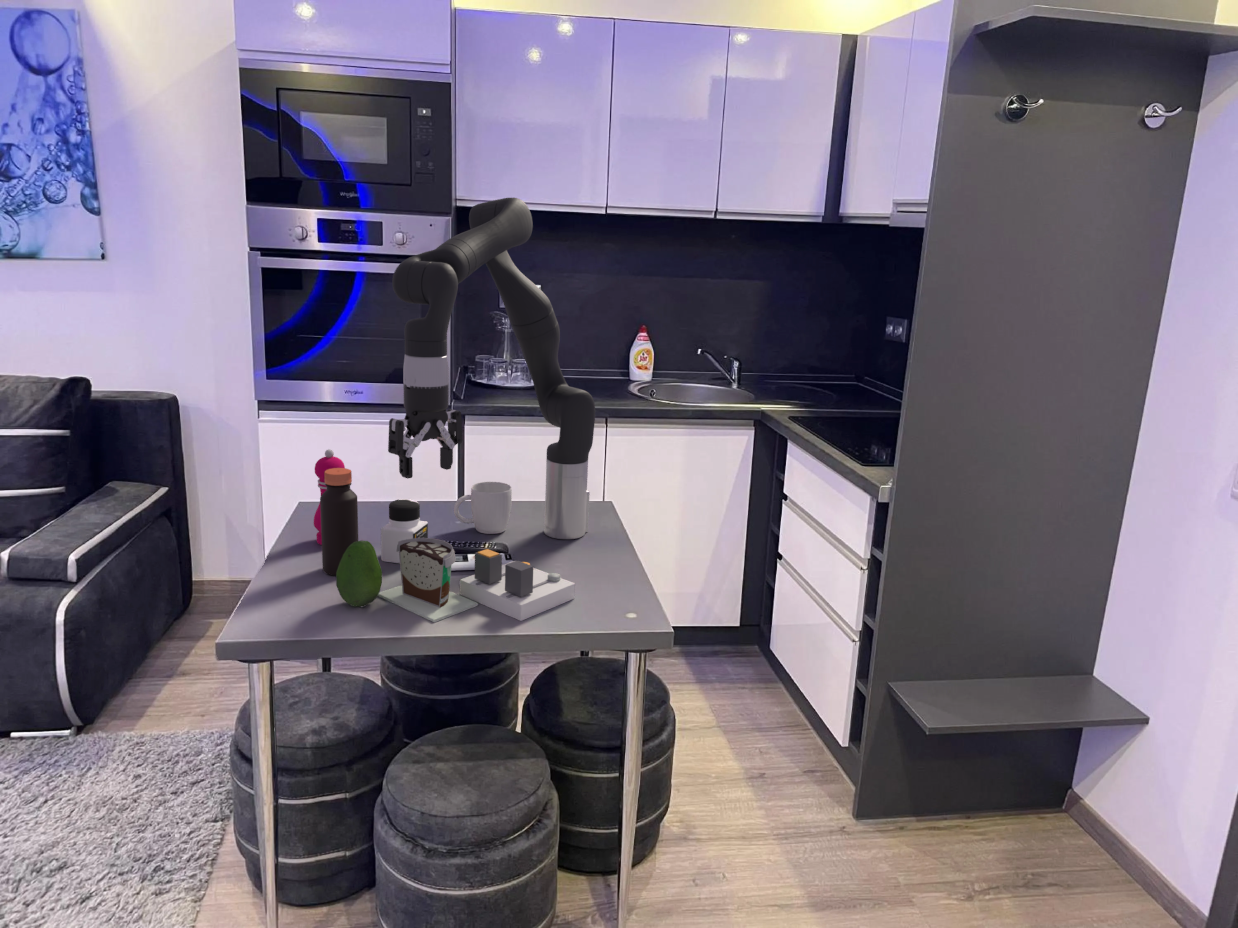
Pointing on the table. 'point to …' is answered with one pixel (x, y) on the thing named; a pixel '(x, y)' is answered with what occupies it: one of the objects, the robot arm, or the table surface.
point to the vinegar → (337, 517)
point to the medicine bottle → (401, 527)
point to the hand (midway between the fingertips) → (426, 472)
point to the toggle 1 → (488, 566)
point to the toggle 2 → (519, 578)
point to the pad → (425, 609)
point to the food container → (426, 569)
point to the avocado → (359, 574)
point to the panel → (545, 596)
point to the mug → (488, 507)
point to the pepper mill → (320, 468)
